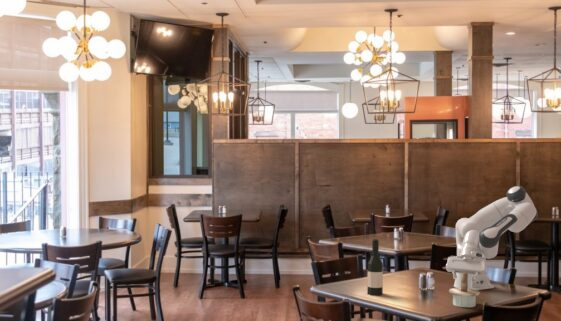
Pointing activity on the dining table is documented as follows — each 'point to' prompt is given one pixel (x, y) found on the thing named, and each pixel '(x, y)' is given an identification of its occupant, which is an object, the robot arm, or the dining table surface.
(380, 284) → the wine bottle
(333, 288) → the dining table surface
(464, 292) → the lid
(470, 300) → the bowl
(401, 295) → the dining table surface
